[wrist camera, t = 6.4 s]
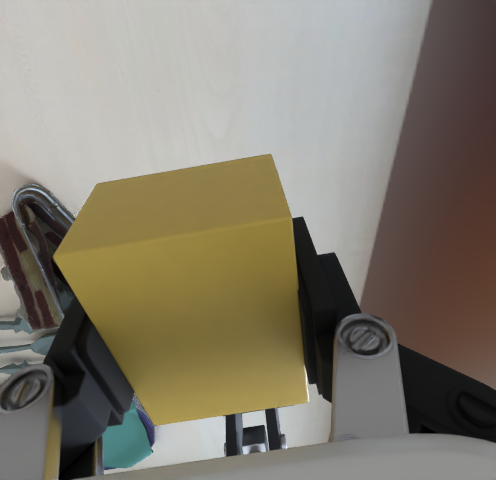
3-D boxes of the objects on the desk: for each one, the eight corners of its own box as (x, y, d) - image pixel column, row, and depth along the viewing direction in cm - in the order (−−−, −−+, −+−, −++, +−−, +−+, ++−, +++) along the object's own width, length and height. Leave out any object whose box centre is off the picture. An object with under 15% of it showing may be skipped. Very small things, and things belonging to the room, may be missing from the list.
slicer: (199, 348, 38) (193, 444, 30) (282, 334, 38) (299, 428, 30) (222, 407, 45) (223, 497, 37) (293, 396, 45) (309, 485, 37)
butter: (271, 152, 10) (292, 216, 7) (291, 321, 14) (309, 403, 11) (96, 182, 10) (50, 257, 7) (166, 340, 14) (153, 427, 11)
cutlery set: (25, 462, 50) (18, 481, 48) (-101, 315, 33) (-121, 335, 31) (168, 451, 51) (166, 469, 49) (119, 302, 34) (113, 321, 32)
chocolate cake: (-43, 206, 27) (-32, 368, 26) (10, 178, 24) (27, 361, 22) (71, 218, 36) (85, 340, 34) (121, 198, 32) (139, 332, 31)
